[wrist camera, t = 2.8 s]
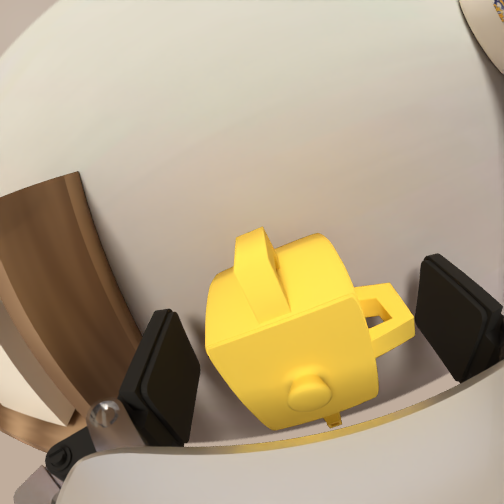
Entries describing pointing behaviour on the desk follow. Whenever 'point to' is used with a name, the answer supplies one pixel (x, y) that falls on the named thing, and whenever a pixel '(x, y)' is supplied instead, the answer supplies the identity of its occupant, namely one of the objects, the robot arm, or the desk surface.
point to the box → (62, 303)
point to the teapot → (299, 330)
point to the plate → (27, 379)
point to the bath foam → (487, 27)
